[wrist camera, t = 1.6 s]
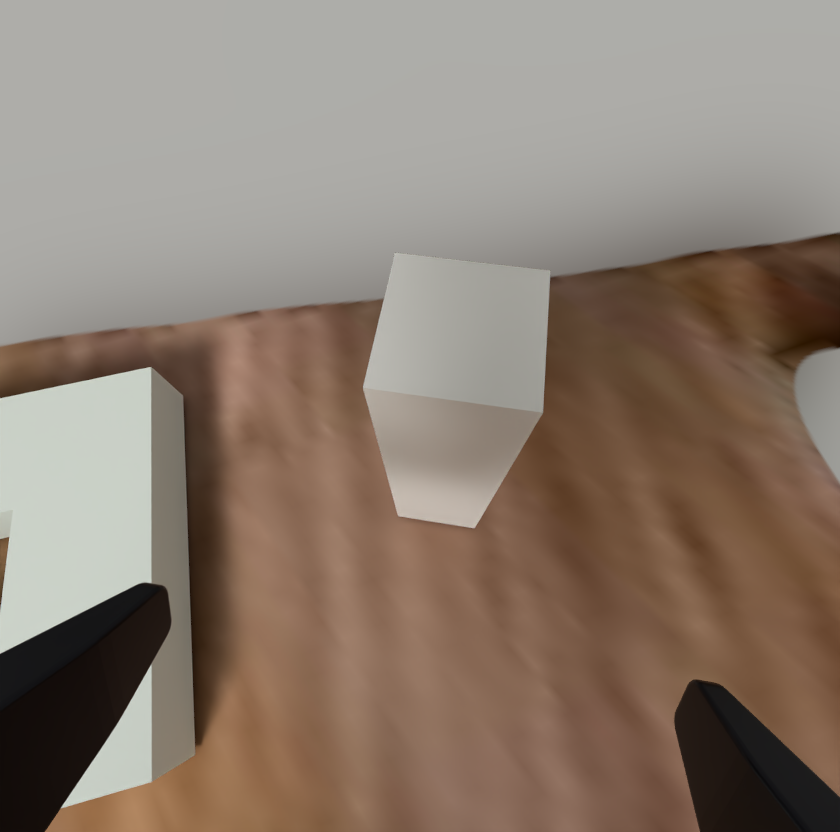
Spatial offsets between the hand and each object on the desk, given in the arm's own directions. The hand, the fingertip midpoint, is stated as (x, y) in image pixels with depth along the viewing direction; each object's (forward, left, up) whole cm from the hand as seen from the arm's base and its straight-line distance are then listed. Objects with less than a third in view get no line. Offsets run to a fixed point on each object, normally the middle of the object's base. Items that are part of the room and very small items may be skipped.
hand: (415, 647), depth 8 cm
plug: (+6, -2, -12) cm, 14 cm away
